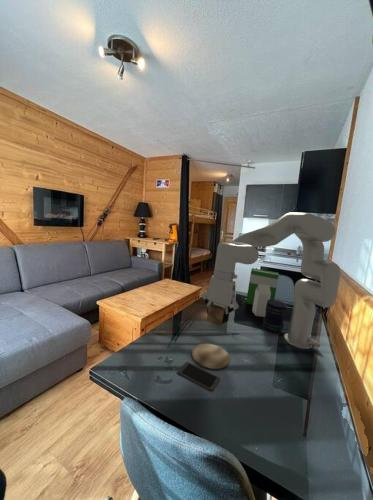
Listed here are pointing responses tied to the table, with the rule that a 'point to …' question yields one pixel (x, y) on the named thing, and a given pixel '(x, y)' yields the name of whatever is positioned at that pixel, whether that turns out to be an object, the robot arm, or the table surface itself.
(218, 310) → the walnut cube
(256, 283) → the hardback book
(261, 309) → the milk carton
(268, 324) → the storage jar
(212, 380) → the cell phone
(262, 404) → the table surface
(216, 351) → the plate
